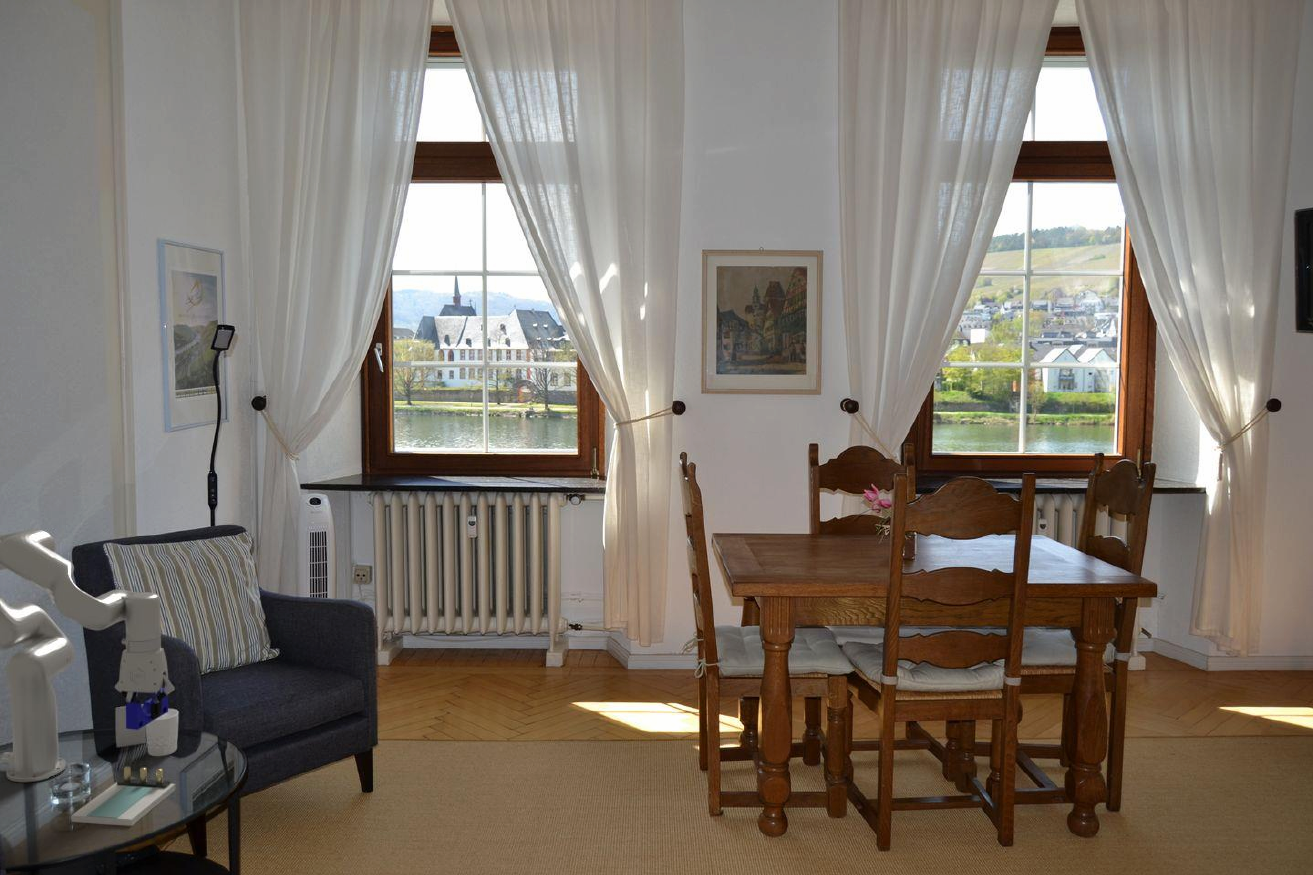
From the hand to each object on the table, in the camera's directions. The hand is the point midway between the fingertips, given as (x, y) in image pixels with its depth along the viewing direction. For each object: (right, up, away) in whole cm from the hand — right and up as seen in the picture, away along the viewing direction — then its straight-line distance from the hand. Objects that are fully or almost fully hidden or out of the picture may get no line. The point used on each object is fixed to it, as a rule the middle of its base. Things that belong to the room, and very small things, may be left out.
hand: (145, 715), depth 253 cm
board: (+2, -17, -14) cm, 22 cm away
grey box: (-14, -13, +21) cm, 28 cm away
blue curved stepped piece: (0, -1, 0) cm, 1 cm away
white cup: (-4, -14, +16) cm, 21 cm away
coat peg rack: (+3, -15, -7) cm, 16 cm away
